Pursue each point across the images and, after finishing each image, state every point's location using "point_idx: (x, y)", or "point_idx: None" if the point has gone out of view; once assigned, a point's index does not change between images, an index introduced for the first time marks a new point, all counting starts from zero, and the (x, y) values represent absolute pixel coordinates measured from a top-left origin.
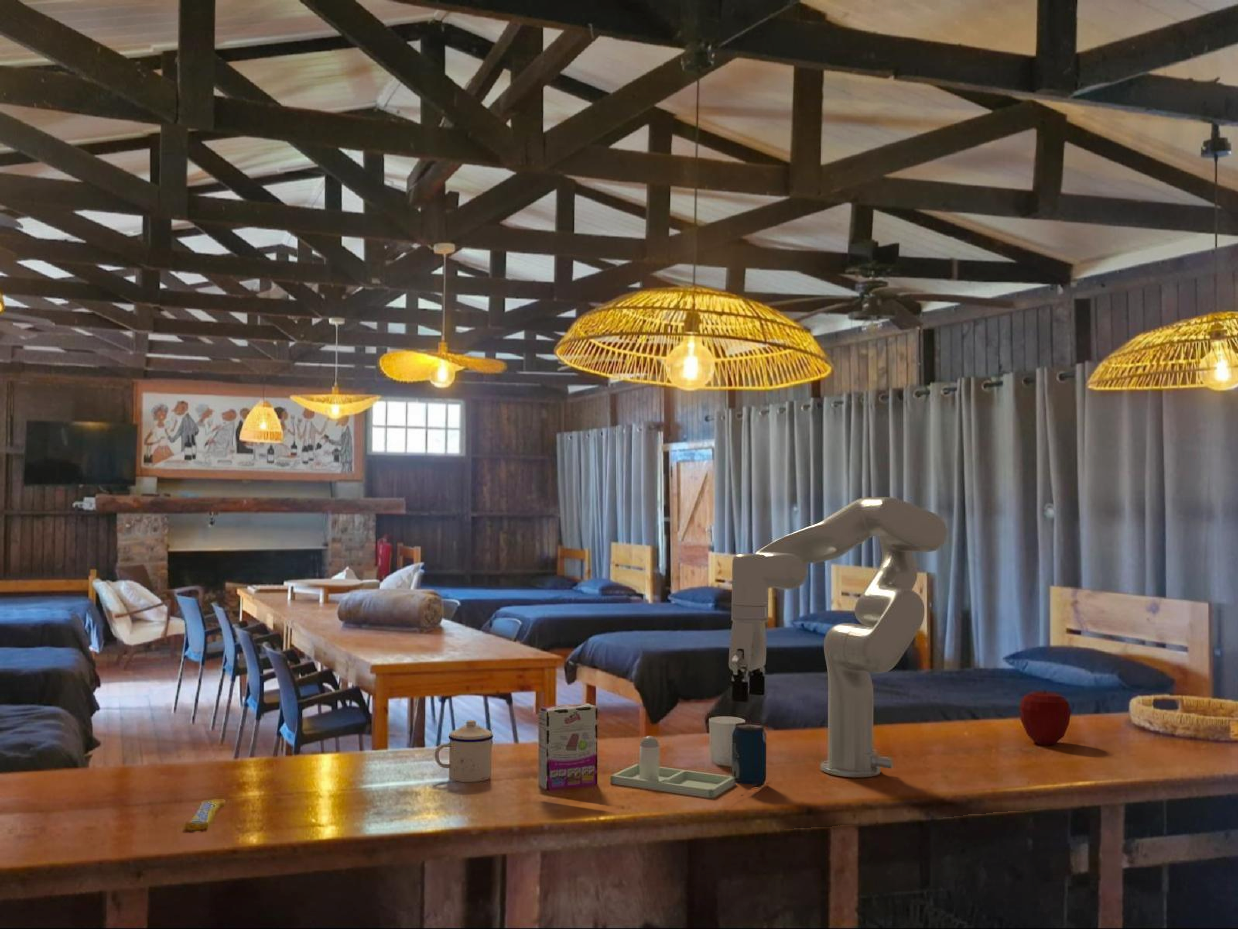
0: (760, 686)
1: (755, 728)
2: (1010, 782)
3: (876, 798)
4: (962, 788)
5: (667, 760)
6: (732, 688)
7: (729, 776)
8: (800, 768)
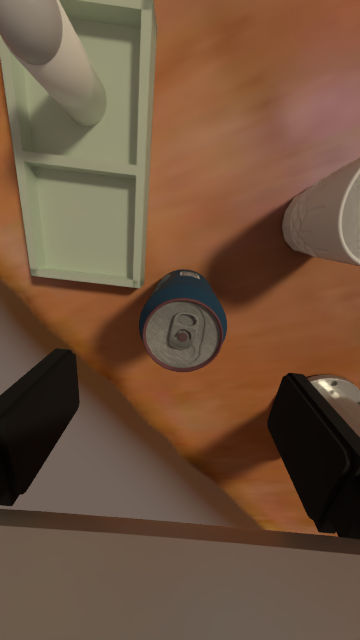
0: (286, 451)
1: (153, 359)
2: (299, 530)
3: (182, 444)
4: (260, 502)
5: (344, 47)
6: (15, 384)
7: (137, 277)
8: (320, 346)
